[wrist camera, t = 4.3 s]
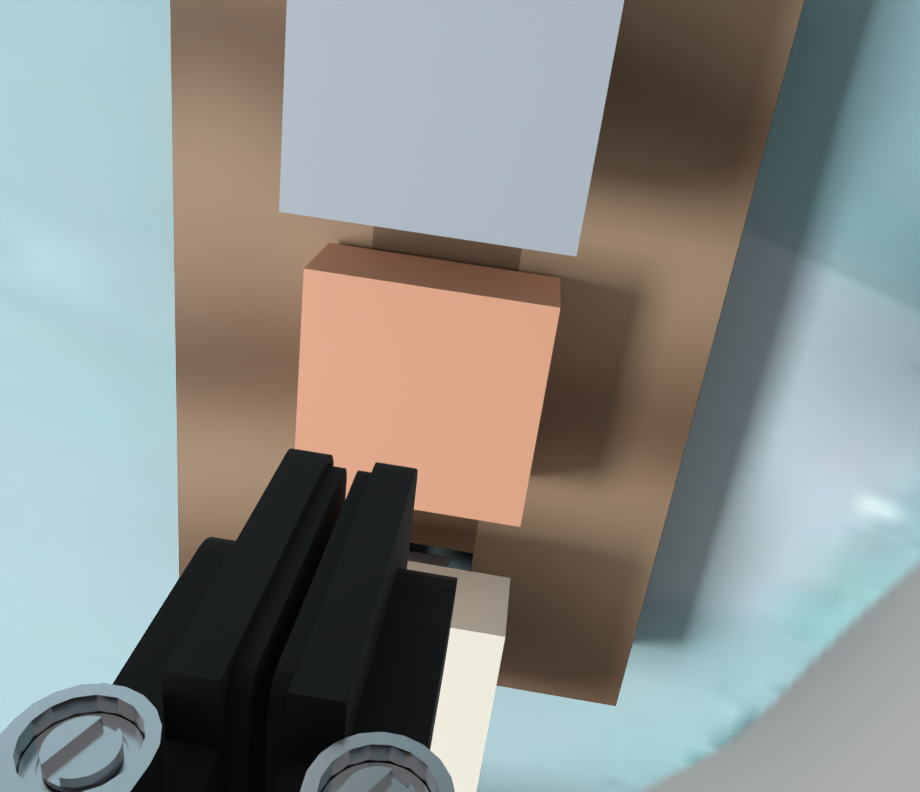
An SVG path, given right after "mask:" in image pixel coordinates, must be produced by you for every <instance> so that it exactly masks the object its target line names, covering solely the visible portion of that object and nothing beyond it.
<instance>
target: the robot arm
mask: <svg viewBox="0 0 920 792" xmlns="http://www.w3.org/2000/svg"><path fill="white" fill-rule="evenodd" d="M417 474H418V470H417V469H416V468H410V467H404V466H398V465H392V464H386V463H379V462H376V463H375V465H374V467H373V470H372V472H366V471H360V470H359V471H357V473H356V475H355V478H354V480H353V483H352V485H351V487H350V490H349V492H348V495H347V497H346V483H347V470H346V468H341V467H335V466H334V461H333V456H332V455H330V454H324V453H317V452H311V451H305V450H299V449H293V448H291V449H289V450H288V451H287V453H286V454H285V456H284V458H283V459H282V461H281V463H280V465H279V466H278V468H277V470H276V472H275V473H274V475H273V477H272V479H271V480H270V482H269V484H268V486H267V487H266V489H265V491H264V493H263V494H262V496H261V498H260V500H259V501H258V503H257V505H256V507H255V508H254V510H253V512H252V514H251V515H250V517H249V519H248V521H247V522H246V524H245V526H244V528H243V529H242V531H241V533H240V535H239V536H238V538H237V540H236V541H234V540H228V539H222V538H216V537H209V538H207V539H205V540H204V541H203V543H202V544H201V545H200V546H199V548H198V549H197V551H196V553H195V554H194V556H193V557H192V559H191V561H190V562H189V564H188V565H187V567H186V568H185V570H184V572H183V573H182V575H181V576H180V578H179V580H178V581H177V583H176V584H175V586H174V588H173V589H172V591H171V592H170V594H169V595H168V597H167V599H166V600H165V602H164V603H163V605H162V607H161V608H160V610H159V611H158V613H157V615H156V616H155V618H154V619H153V621H152V622H151V624H150V626H149V627H148V629H147V630H146V632H145V634H144V635H143V637H142V638H141V640H140V642H139V643H138V645H137V646H136V648H135V649H134V651H133V653H132V654H131V656H130V657H129V659H128V661H127V662H126V664H125V665H124V667H123V668H122V670H121V672H120V673H119V675H118V676H117V678H116V680H115V681H114V683H113V684H106V683H102V684H87V685H79V686H75V687H72V688H68V689H65V690H61V691H58V692H55V693H53V694H51V695H49V696H47V697H45V698H43V699H41V700H39V701H38V702H36V703H34V704H32V705H31V706H30V707H29V708H28V709H26V710H25V711H24V712H23V713H21V714H20V715H19V716H18V717H17V718H15V719H14V720H13V721H12V722H11V723H10V724H9V725H8V727H7V728H6V729H5V730H4V731H3V732H2V733H1V734H0V792H455V791H454V786H453V781H452V777H451V776H450V774H449V772H448V771H447V769H446V768H445V766H444V764H443V763H442V761H441V759H439V758H438V757H437V756H436V755H435V754H434V753H433V752H431V751H430V748H431V742H432V736H433V730H434V725H435V719H436V713H437V707H438V701H439V695H440V690H441V684H442V678H443V672H444V665H445V659H446V653H447V647H448V640H449V634H450V628H451V621H452V614H453V608H454V601H455V595H456V588H457V581H458V578H456V577H450V576H444V575H438V574H432V573H426V572H420V571H414V570H408V569H407V563H408V554H409V546H410V537H411V528H412V520H413V511H414V503H415V494H416V485H417ZM345 497H346V500H345Z"/></svg>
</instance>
